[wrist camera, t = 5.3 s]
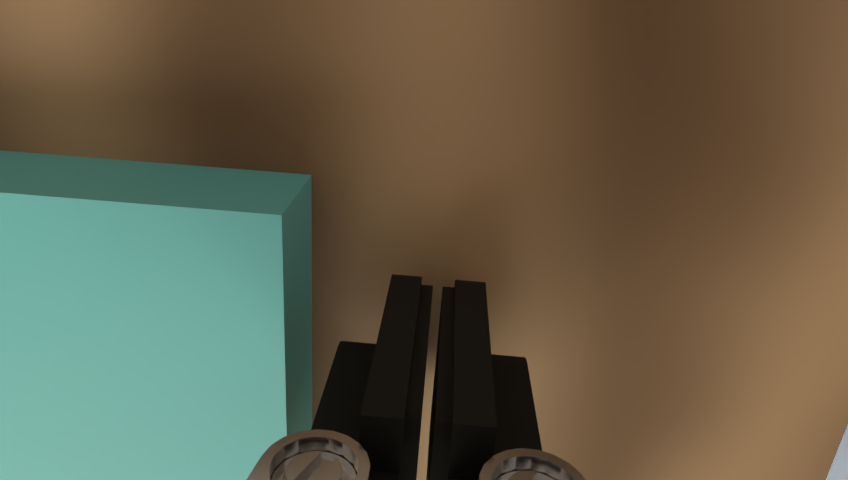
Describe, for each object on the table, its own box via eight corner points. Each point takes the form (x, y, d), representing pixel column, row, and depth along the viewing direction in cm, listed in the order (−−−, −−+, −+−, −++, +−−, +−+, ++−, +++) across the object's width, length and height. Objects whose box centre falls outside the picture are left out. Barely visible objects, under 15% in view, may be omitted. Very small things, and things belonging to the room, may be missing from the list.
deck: (868, -33, 13) (1028, -34, 9) (705, 497, 18) (766, 628, 15) (-190, -105, 14) (-433, -134, 10) (-45, 429, 19) (-167, 539, 15)
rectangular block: (311, 174, 11) (281, 215, 9) (312, 449, 13) (288, 524, 12) (-194, 134, 11) (-320, 167, 10) (-107, 411, 14) (-195, 480, 12)
